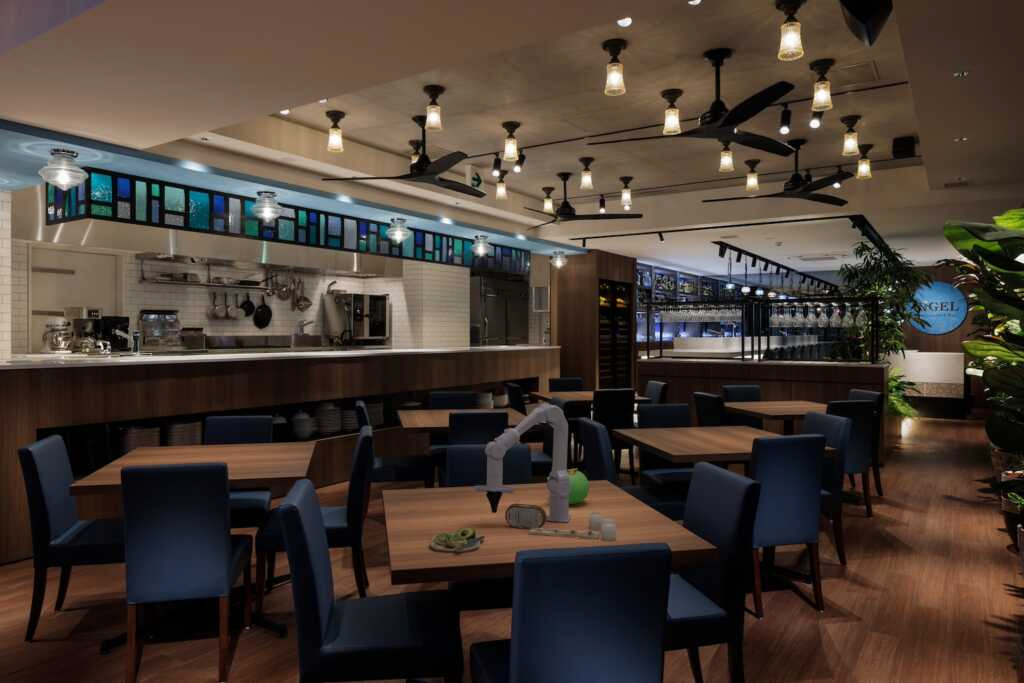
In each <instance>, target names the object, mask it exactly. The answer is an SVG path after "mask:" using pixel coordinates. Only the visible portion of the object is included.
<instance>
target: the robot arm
mask: <svg viewBox="0 0 1024 683" xmlns="http://www.w3.org/2000/svg"><path fill="white" fill-rule="evenodd" d="M538 423H539V424H540V423H548V424H549V425H550V427H551V428H553V442H552V443H553V446H552V466H551V471H550V473H549V476H548V477H549V480H547V482H546V488H547V491H549V504H548V505H549V507H548V509H549V511H548V513H549V514H548V517H547V518H546V521H547V522H555V521H556V522H558V523H568V522H569V520H570V519H571V517H572V515H571V514H569V510H570V508H569V506H570V504H569V500H568V499H569V494H570V493H571V489H572V487H571V484H570V477H569V475H568V473H567V471H566V470H567V464H568V443H569V442H568V438H569V437H568V436H569V423H568V421H567V419H566V417H565V414H564V410H563V409H562V408H560V407H559V406H558V405H555V404H549V403H545V402H544V403H541V404H539V405H538V407H535V408H534V409H533V410H532V412H531V413H529V415H527V416H526V417H525V418H524V419H523V420H522V421H520V423H518V424H517V425H516V426H515V427H514V428H511V427H509V428H505V429H504V430H503V433H502V434H500V435H499V436H498V437H496V438H494V440H493V441H489V442H488V443H487V445H486V447H485V448H484V452H485V455H486V457H487V458H486V459H487V460H486V485H475V486H474V492H476V493H478V492H483V493H486V494H485V495H486V498H487V500H488V502H489V505H490V510H491V514H496V513H497V512H498V508H499V507H498V506H499V502H500V501H501V498H502V496H503V494H511V495H514V494H515V489H516V488H515V487H510V486H503V482H504V481H503V480H504V479H503V475H504V474H503V472H504V470H503V467H504V466H503V465H504V464H503V463H504V461H503V458H504V457H505V455H506V452H508V450H509V449H510V448H512V447H514V445H516V444H517V443H518V442H519V441H520V438H521V435H523V434H524V433H526V432H527V431H528V430H529V429H530V428H532V427H533V426H534V425H536V424H538Z"/></svg>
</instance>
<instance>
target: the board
mask: <svg viewBox="0 0 1024 683" xmlns="http://www.w3.org/2000/svg"><path fill="white" fill-rule="evenodd" d="M528 534H529V535H530V534H538V535H537V536H544V535H550V536H549V537H557V536H566V537H565V538H571V537H579V538H578V539H584V538H587V540H588V539H589V540H599V538H600V532H595V531H593V530H591V531H584V530H583V531H581V530H573V529H570V530H565V529H561V528H560V529H557V528H543V527H541V528H531V529H529V531H528Z"/></svg>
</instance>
